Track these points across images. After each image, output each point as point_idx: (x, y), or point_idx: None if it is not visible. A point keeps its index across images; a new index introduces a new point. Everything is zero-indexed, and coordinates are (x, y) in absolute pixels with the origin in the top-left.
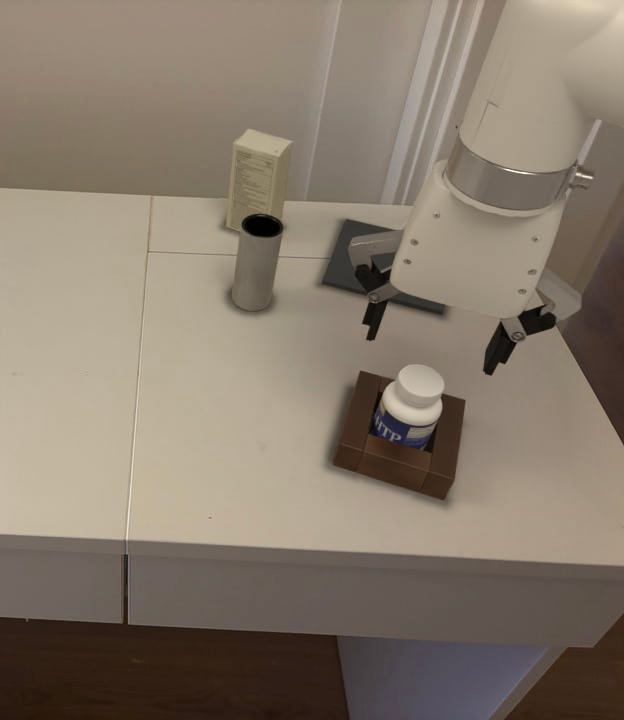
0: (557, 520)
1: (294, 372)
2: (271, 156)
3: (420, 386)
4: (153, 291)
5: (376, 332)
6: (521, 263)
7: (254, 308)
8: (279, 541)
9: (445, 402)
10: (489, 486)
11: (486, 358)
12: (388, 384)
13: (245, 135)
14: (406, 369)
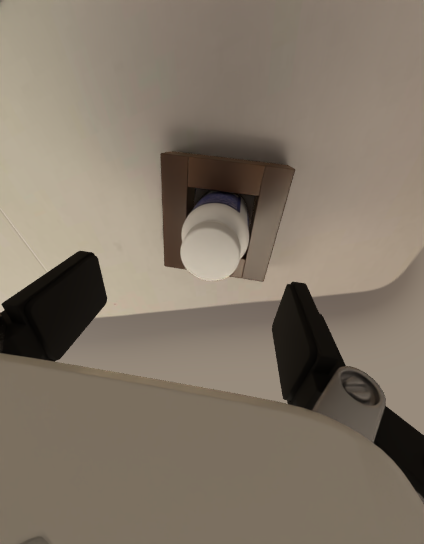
0: (357, 264)
1: (105, 139)
2: None
3: (208, 267)
4: None
5: (94, 315)
6: None
7: None
8: (157, 311)
9: (266, 183)
10: (305, 243)
11: (279, 320)
12: (197, 170)
13: None
14: (188, 242)
